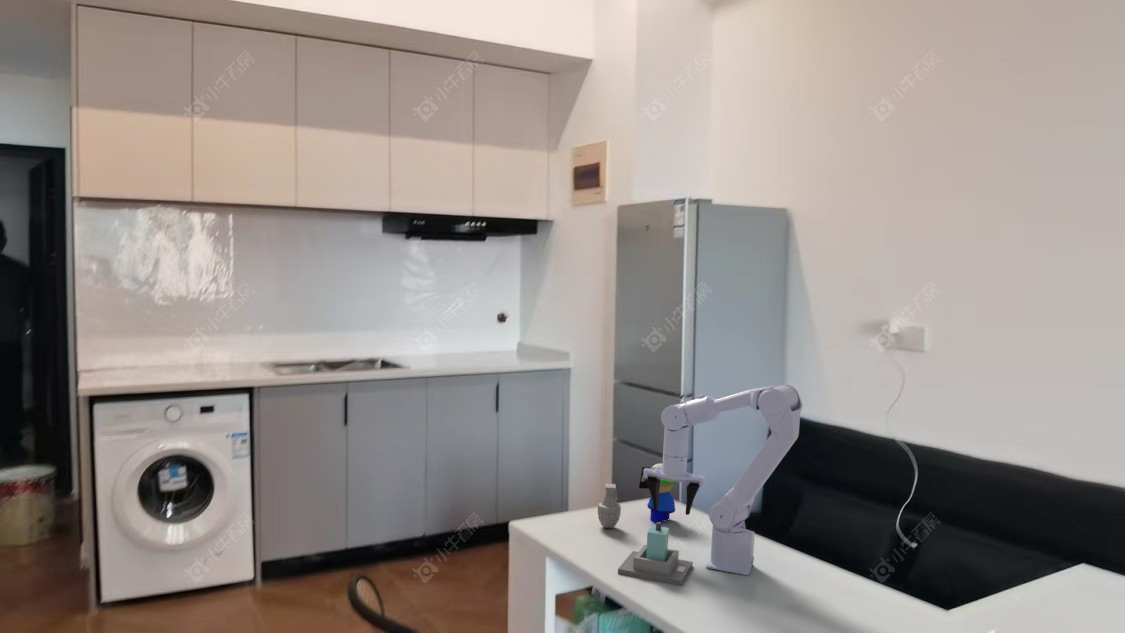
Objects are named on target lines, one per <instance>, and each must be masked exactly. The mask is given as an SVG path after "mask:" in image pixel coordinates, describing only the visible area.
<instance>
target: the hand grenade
mask: <svg viewBox="0 0 1125 633" xmlns="http://www.w3.org/2000/svg"><path fill="white" fill-rule="evenodd" d="M604 488H605V489H604V490H605V495H604V497H603V499H602V501H601V502H598V504H597V516H598V521H599V523H600V525H601V526H602V527H604V528H606V529H612V528H614V527H615V526H617V524H618V522H619V520H620V518H621V512H622V509H621V508H622V506H621V504H620V503H618V500H619V499H618V493H617V485H616V483H605V484H604Z"/></svg>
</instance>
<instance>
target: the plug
mask: <svg viewBox="0 0 1125 633" xmlns="http://www.w3.org/2000/svg"><path fill="white" fill-rule="evenodd" d="M662 523H663V522H661V523H659V522H657V523H656V522H655V525H650V527H649V529H648V531H647V534H646V535H647V536H646V537H647V538H646V539H647V540H646V545H647V552H646V558H647V559H653V560H658V561H664V562H667V552H668V549H669V533H670V527H666V526H662Z"/></svg>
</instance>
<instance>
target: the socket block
mask: <svg viewBox="0 0 1125 633" xmlns="http://www.w3.org/2000/svg"><path fill="white" fill-rule="evenodd" d="M646 552H647V544H644V545H642V547H641V548H640V549H639V551H636V550H633V551H631V553H630V554H629V555H628V556H627V558H626V559H625V560H624V561H623V562H622V564H620V566H619V567H617V568H618V569H617V574H620V575H626V576H630V577H634V578H635V577H636V578H639V579H640V578H641V579H645V580H650V579H651V581H655V582H656V581H657V582H661V583H664V584H665V583H667V584H672V585H676V586H682V585H683V583H684V581H685V580H686V578H687V576H688V575H689V573H690V571H691V569H692V567H693V563H694V562H693V561H691V560H690V561H689V560H685V559H680V558H679V554H680V551H679V550H675V549H670V548H668V552H667V562H664V561H658V560H653V559H647V558H646Z"/></svg>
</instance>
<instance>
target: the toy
mask: <svg viewBox="0 0 1125 633" xmlns="http://www.w3.org/2000/svg"><path fill="white" fill-rule="evenodd" d="M662 464H663V463H656V464H654V465H653V466H651V467H650V466H649V467H647V466H643V467H642V468H641V472H640V473H641V475H640V478H639V479H640V480H639V484H638V489H648V490H649V488H648V486H647V483H646V481H647V479H648V478H643V470H644V469H645V468H650V469H662ZM675 483H677V482H676V481H669V480H662V479H661V481H660V488H659V507H658V509H657V510H654V507H653V501H652V496H651V495H650V498H649V499H648V503H647V505H646V506H647V508H648V509H649V510H650V516H649V520H650V522H653V523H656V522H661V523H663V522H664V521H663V520H668V519H669V520H670V514H674V513H675V512H676V504H675V499H674V497H673V495H672V493H671V492H670V491H671V490H672V488H673V485H674V484H675ZM669 520H668V521H669ZM662 521H663V522H662Z"/></svg>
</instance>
